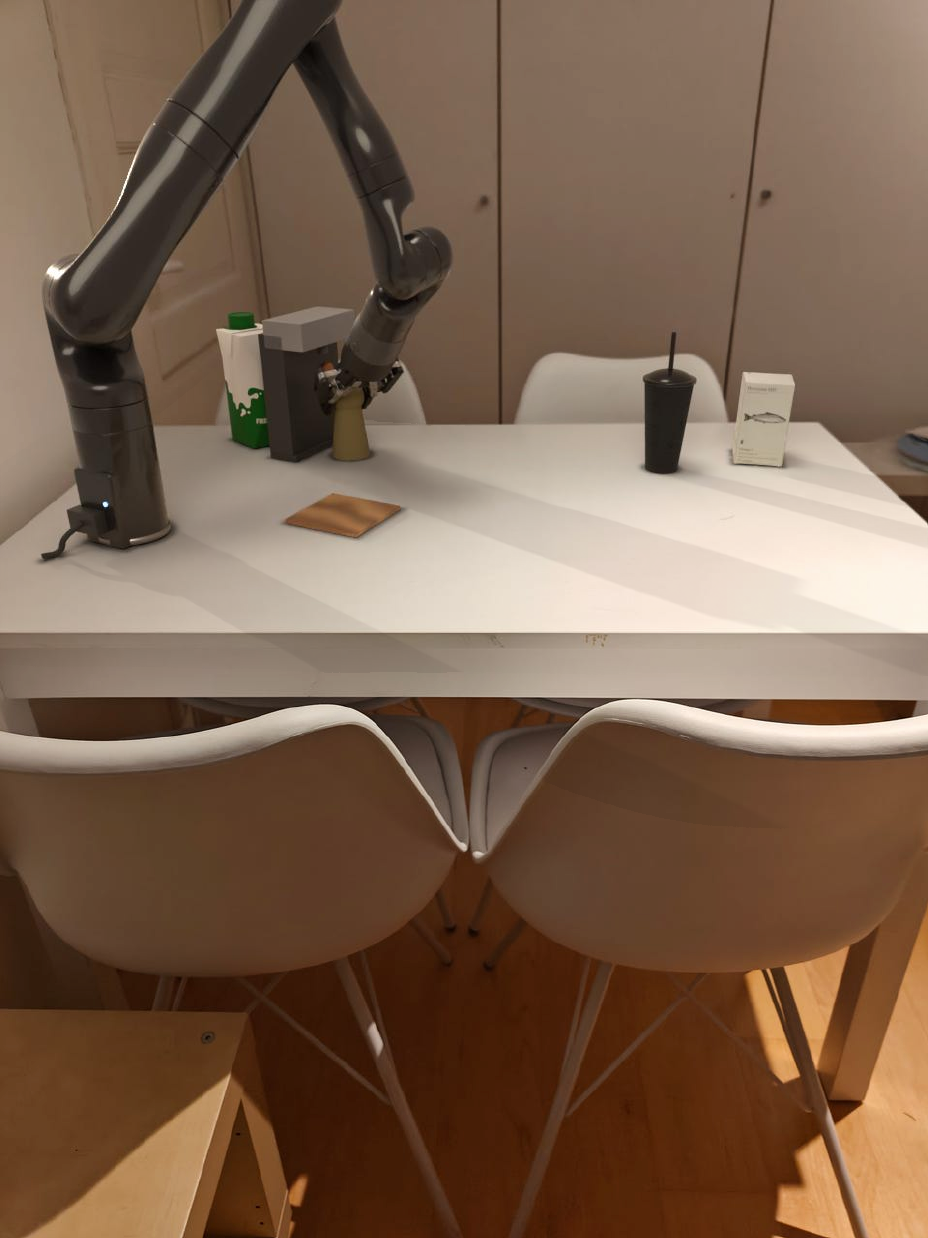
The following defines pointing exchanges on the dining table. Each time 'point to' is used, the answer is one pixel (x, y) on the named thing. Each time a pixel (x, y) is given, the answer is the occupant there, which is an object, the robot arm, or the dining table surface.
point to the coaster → (343, 515)
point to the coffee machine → (299, 377)
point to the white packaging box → (763, 418)
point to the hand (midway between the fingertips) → (343, 407)
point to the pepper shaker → (350, 428)
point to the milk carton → (244, 379)
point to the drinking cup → (666, 414)
